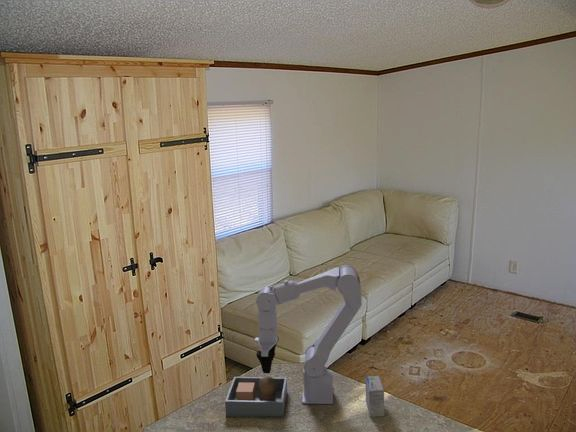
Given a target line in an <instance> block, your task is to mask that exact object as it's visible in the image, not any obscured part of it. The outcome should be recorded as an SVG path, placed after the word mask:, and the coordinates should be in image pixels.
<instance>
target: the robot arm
mask: <svg viewBox="0 0 576 432" xmlns="http://www.w3.org/2000/svg"><path fill="white" fill-rule="evenodd" d="M358 273H359V272H357V269H356V268H355V267H354V266H352V265H349V264H345V265H341V266H340V267H338V266H337V267H334V268H331V269H329V270H326V271H325V272H321V273H319V274H317V275H314V276H312V277H309V278H306V279H304V280H301V281H296V280H293V279H292V280H289V279H286V280H284V281H283V283H279V284H276V285H270V286H265V287H264V286H263V287H262V288H261V289H260V290H259V291H258V294H257V296H256V301H255V302H256V303H255V305H256V306H257V327H258V328H257V329H258V332H257V333H258V337H255V338H254V342H255V343H258V346H259V348H260V350H256V353H255V354H256V358H257V359H258V361H259V363H260V366H261V367H260V368H261V369H262V373H263V374H270V373H271V369H272V363H273V361H274V358H275V356H276V347H277V345H278V343H279V339H280V337H278V334H277V333H278V324H277V323H278V322H277V309H276V307H277V305H278V306H279V305H281V304H284V303H288V302H291V301H294V300H298V299H299V298H300V296H301V294H304V293H307V292H310V291H315V290H318V289H323V288H325V287H326V288H328V289H330V290H332V291H334V292H336V288H337V290H338V291H339V293H340V295H342V297H343V302H342V303H341V305H340V306H339V308H338V309H337V311H336V312H335V314H334V315H333V317H332V318H331V320H330V321H329V323H328V325H327V326H326V328H325V329H324V331H322V332H323V333H321V334H320V336H319V338H317V339H315V340H314V342H313V343H312V344H311V345H309V346H308V347H306V349H305V350H304V351H305V352H304V355H305V357H304V362H303V370H302V372H303V373H302V375H303V391H302V398H301V399H302V400H301V403H302V404H312V405H314V404H316V405H317V404H319V405H333V404H334V394H335V388H334V380H333V379H334V378H333V377H334V374H333V370H332V369H327V367H326V364H327V362H328V360H329V357H330V354H331V352H332V350H333V349H334V347H335V345H336V344H337V343H338V341H339V340H340V339H341V337H342V335H343V333H345V331H346V329H347V328H348V326H349V325H350V324H351V322H352V321H353V319H354V318H355V316H356V315H357V313H358V312H359V310H360V309H361V307H362V304H363V303H362V301H363V299H362V285H361V278H360V277H359V274H358Z"/></svg>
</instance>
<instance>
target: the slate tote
mask: <svg viewBox="0 0 576 432" xmlns="http://www.w3.org/2000/svg"><path fill="white" fill-rule="evenodd" d="M264 377H265V376H263V377H262V376H258V377H257V376H234V377H233V379H232V381H231V384H230V387H229V390H228V392H227V395H226V397H225V399H224V400H225V401H224V406H225V407H224V408H225V417H244V418H245V417H246V418H248V417H249V418H282V419H283V418H284V414H285V408H286V403H287V397H288V378H287V377H273V376H272V377H271V376H270V377H271V378H273V379H274V380H275V392H276V401H260V396H259V380H260V379H261V378H264ZM239 382H243V383H255V401H247V400H237V398H236V390H237V387H238V384H239Z"/></svg>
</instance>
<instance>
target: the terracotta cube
mask: <svg viewBox="0 0 576 432" xmlns="http://www.w3.org/2000/svg"><path fill="white" fill-rule="evenodd" d="M236 398H237V400H247V401H255V383H243V382H239V384H238V387H237V390H236Z"/></svg>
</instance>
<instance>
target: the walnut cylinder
mask: <svg viewBox="0 0 576 432" xmlns="http://www.w3.org/2000/svg"><path fill="white" fill-rule="evenodd" d="M263 377H264V378H261V379H260V380H259V396H260V401H276V392H275V380H274V379H273V378H271V376H263Z"/></svg>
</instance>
